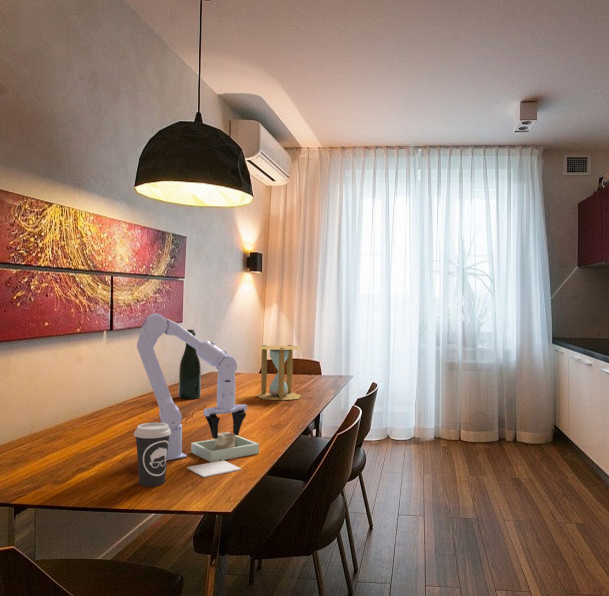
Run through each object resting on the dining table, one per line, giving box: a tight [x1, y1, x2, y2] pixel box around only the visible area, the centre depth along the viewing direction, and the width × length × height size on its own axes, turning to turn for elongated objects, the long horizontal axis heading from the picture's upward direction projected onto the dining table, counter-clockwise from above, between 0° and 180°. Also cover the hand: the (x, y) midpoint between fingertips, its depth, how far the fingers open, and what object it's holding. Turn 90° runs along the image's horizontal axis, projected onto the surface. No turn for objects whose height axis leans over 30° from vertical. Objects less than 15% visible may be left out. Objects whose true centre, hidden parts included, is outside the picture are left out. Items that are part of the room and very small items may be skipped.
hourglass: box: [256, 344, 303, 401], centre depth 281 cm, size 24×22×25 cm
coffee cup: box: [133, 422, 171, 487], centre depth 150 cm, size 10×10×15 cm
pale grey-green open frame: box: [190, 435, 260, 463], centre depth 180 cm, size 17×13×3 cm
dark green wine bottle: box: [178, 329, 202, 400], centre depth 275 cm, size 10×10×33 cm
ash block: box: [214, 431, 236, 451], centre depth 180 cm, size 4×4×6 cm
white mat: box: [186, 460, 242, 478], centre depth 163 cm, size 12×10×1 cm
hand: (225, 436), depth 180 cm, fingers open, 7 cm apart
